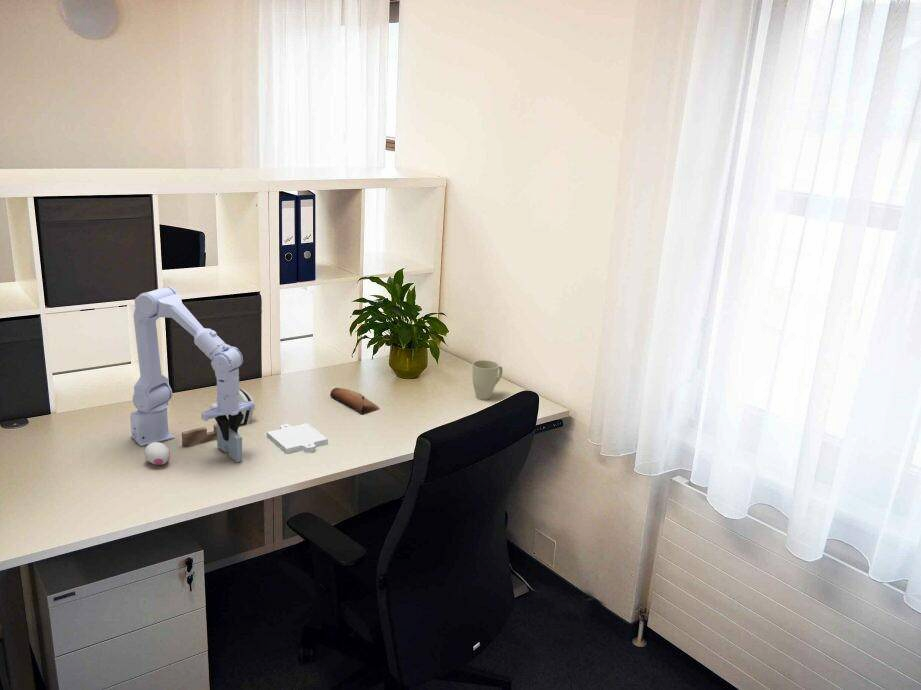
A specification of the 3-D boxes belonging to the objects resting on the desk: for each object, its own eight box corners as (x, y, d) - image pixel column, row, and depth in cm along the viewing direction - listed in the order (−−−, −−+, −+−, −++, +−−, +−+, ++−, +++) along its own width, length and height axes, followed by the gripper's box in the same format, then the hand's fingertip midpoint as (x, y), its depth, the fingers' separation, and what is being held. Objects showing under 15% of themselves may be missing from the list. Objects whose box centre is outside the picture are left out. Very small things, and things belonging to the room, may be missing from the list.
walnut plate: (184, 447, 217) (183, 434, 216) (182, 445, 218) (181, 432, 217) (237, 433, 228) (237, 421, 226) (235, 432, 229) (235, 419, 227)
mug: (497, 403, 263) (500, 370, 260) (468, 400, 265) (470, 367, 261) (500, 392, 274) (503, 360, 270) (473, 389, 275) (475, 357, 271)
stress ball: (170, 477, 207) (184, 455, 208) (145, 468, 201) (159, 446, 202) (159, 465, 212) (172, 444, 213) (134, 456, 206) (147, 435, 207)
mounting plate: (332, 448, 224) (332, 442, 223) (290, 458, 216) (290, 452, 215) (303, 426, 237) (303, 420, 236) (263, 434, 229) (263, 428, 229)
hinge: (208, 409, 243) (217, 379, 242) (222, 411, 246) (231, 381, 246) (235, 427, 231) (245, 396, 231) (249, 429, 235) (258, 397, 234)
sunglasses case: (382, 408, 252) (375, 394, 248) (367, 423, 249) (359, 409, 245) (350, 392, 265) (342, 378, 260) (335, 405, 262) (327, 391, 258)
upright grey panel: (237, 462, 210) (236, 438, 208) (217, 446, 218) (216, 423, 216) (242, 460, 211) (241, 437, 209) (222, 444, 219) (221, 422, 217)
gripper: (209, 402, 201) (210, 450, 206) (259, 391, 211) (260, 437, 215) (197, 394, 206) (199, 440, 210) (247, 383, 216) (248, 428, 220)
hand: (229, 438), depth 213 cm, fingers closed on upright grey panel, 1 cm apart
